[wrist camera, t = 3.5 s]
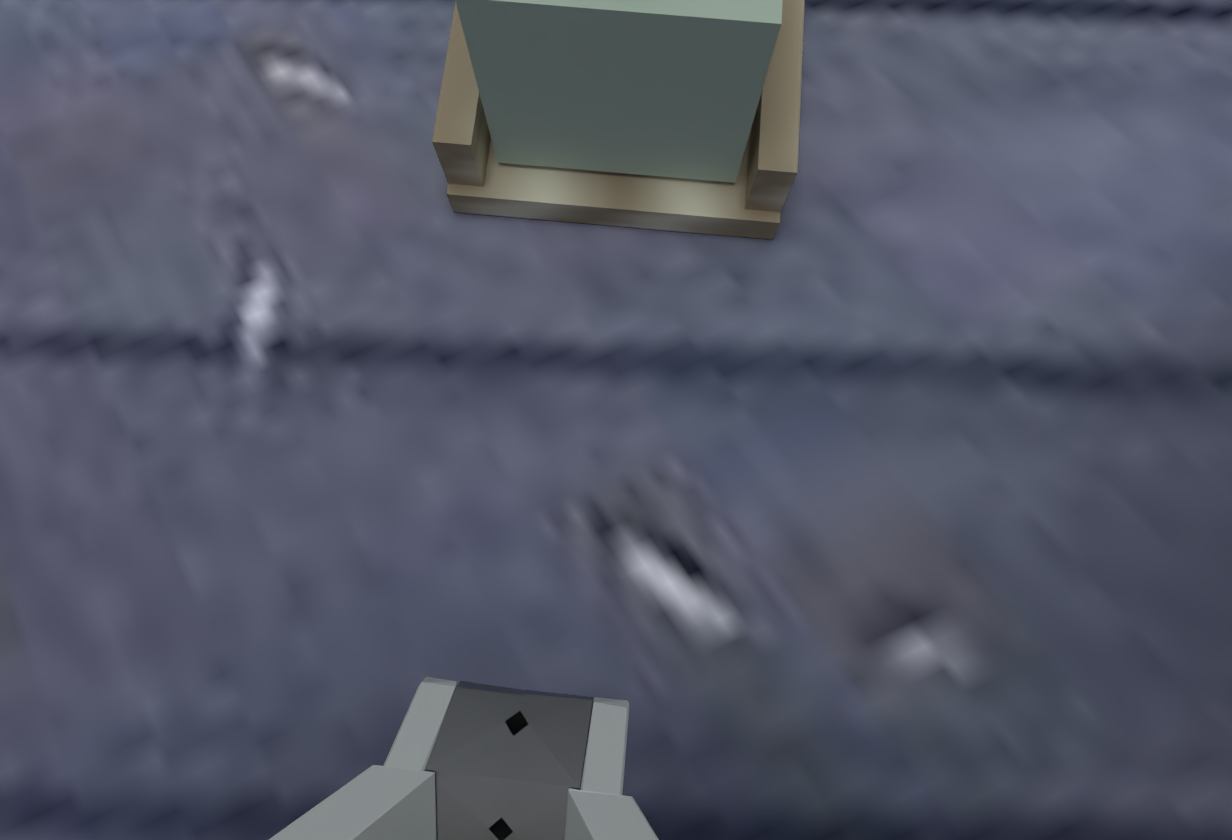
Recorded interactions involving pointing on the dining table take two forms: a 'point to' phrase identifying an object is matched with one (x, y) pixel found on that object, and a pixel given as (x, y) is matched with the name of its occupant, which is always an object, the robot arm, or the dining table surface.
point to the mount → (623, 195)
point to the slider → (622, 81)
